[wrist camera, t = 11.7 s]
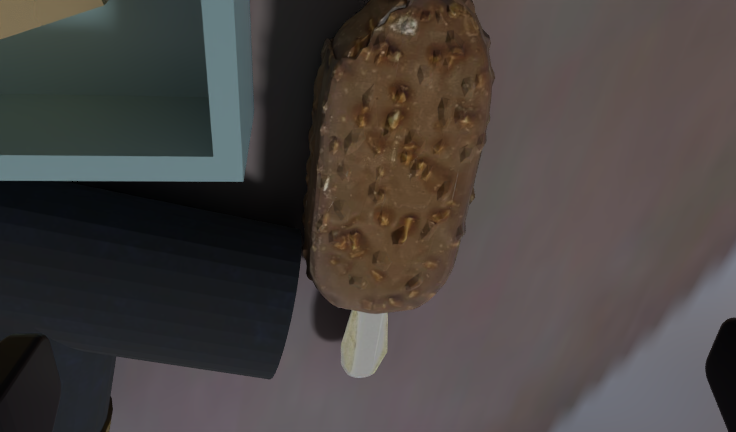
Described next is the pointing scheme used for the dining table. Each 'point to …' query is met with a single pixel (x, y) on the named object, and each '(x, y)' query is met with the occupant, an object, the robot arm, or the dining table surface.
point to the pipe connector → (140, 287)
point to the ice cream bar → (393, 161)
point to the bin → (130, 94)
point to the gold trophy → (39, 13)
